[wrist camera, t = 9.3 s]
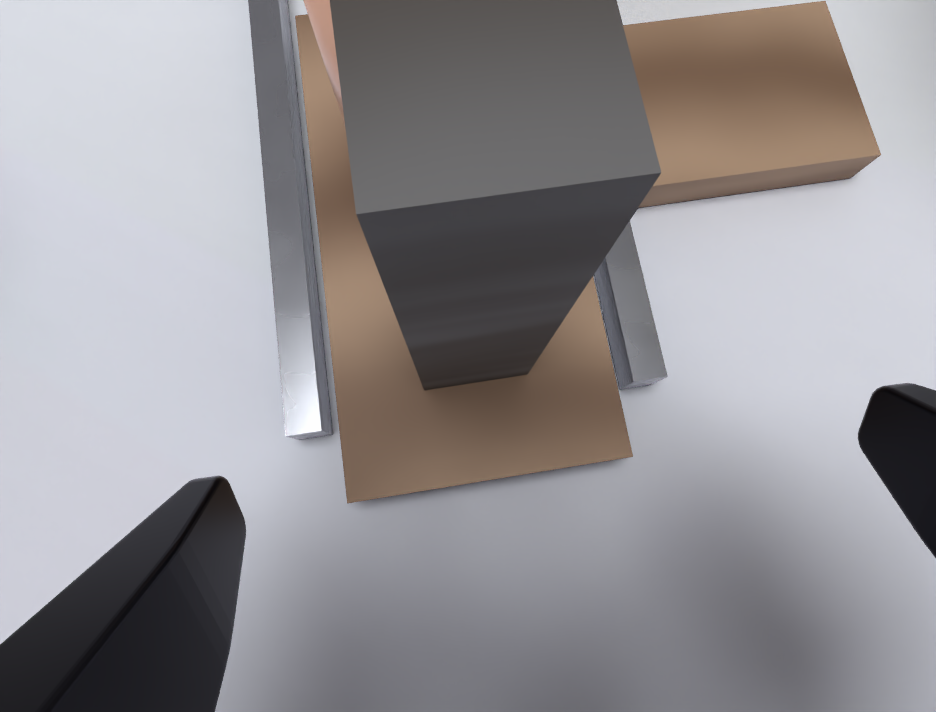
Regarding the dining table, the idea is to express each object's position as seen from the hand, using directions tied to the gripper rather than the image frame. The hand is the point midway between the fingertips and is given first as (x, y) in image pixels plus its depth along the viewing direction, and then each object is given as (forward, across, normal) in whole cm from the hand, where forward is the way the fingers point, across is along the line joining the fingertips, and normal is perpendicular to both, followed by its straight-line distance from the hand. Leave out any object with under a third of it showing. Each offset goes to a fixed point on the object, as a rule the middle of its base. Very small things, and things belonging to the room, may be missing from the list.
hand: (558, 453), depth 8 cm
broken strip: (+17, -9, -5) cm, 20 cm away
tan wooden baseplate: (+12, +1, 0) cm, 12 cm away
